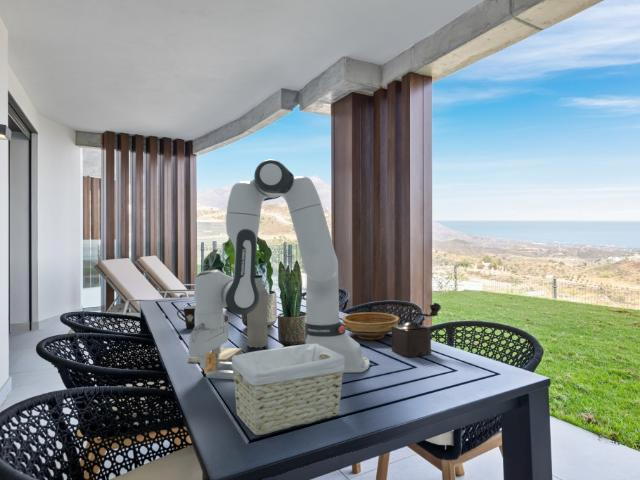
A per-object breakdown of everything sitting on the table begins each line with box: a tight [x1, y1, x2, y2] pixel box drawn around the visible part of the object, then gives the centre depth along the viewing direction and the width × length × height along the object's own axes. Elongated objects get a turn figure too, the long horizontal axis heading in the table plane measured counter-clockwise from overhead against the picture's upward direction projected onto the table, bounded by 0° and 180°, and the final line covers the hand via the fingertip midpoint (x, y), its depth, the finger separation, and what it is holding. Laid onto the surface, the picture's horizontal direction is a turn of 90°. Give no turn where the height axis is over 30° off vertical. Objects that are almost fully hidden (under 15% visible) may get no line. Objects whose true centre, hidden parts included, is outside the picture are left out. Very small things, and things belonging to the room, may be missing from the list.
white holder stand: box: [203, 352, 234, 381], centre depth 131 cm, size 12×10×6 cm
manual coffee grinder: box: [391, 302, 442, 359], centre depth 152 cm, size 16×11×18 cm
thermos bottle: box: [246, 274, 269, 349], centre depth 165 cm, size 8×8×28 cm
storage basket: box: [231, 344, 345, 436], centre depth 100 cm, size 24×16×15 cm
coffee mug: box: [176, 305, 196, 330], centre depth 200 cm, size 12×9×10 cm
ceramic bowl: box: [341, 312, 400, 340], centre depth 176 cm, size 30×24×8 cm
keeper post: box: [188, 347, 243, 364], centre depth 149 cm, size 14×14×10 cm
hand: (209, 363), depth 133 cm, fingers open, 6 cm apart
